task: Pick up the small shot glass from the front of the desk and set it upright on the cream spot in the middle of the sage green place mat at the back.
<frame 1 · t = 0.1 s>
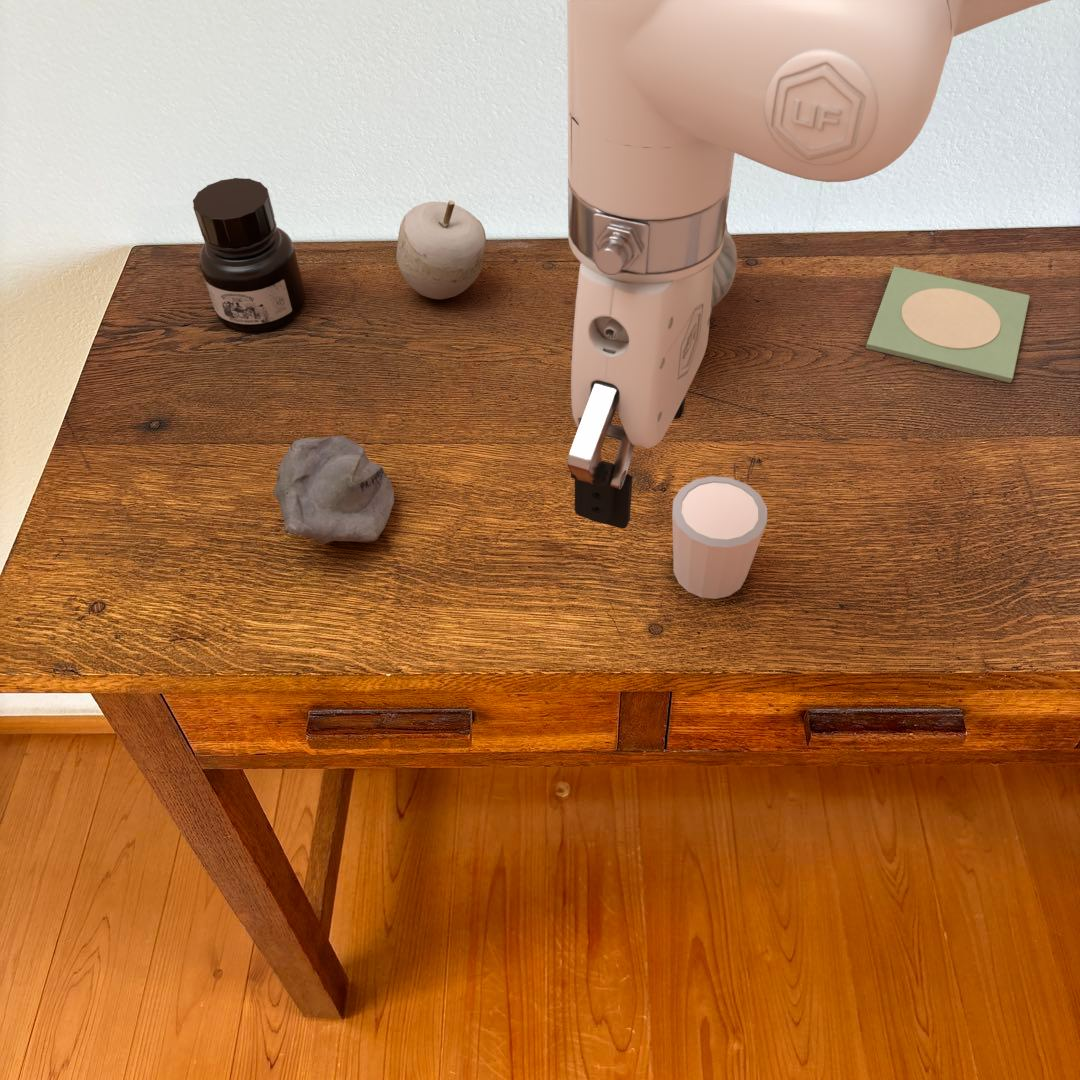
hand: (631, 462, 61), 18 cm above the table, tool pointing down, fingers open, 9 cm apart
mat: (948, 323, 96), on the table
shot glass: (709, 571, 78), on the table
ink bottle: (262, 307, 101), on the table
decorative object: (446, 292, 102), on the table
teapot: (653, 344, 96), on the table
fossil: (339, 527, 82), on the table
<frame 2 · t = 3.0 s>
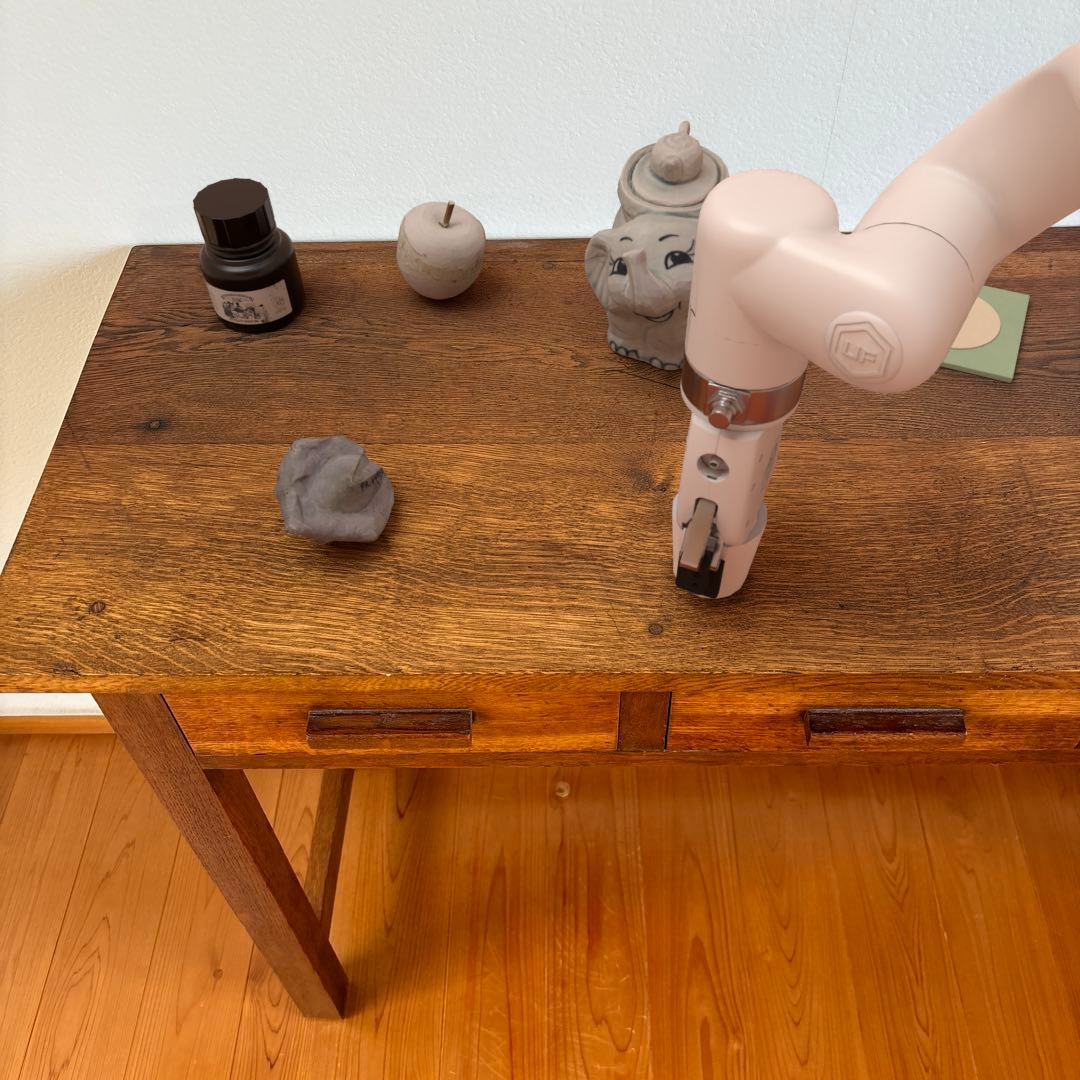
hand: (712, 551, 77), 2 cm above the table, tool pointing down, fingers closed on shot glass, 6 cm apart
shot glass: (709, 571, 78), on the table, touching gripper
everything else where it was.
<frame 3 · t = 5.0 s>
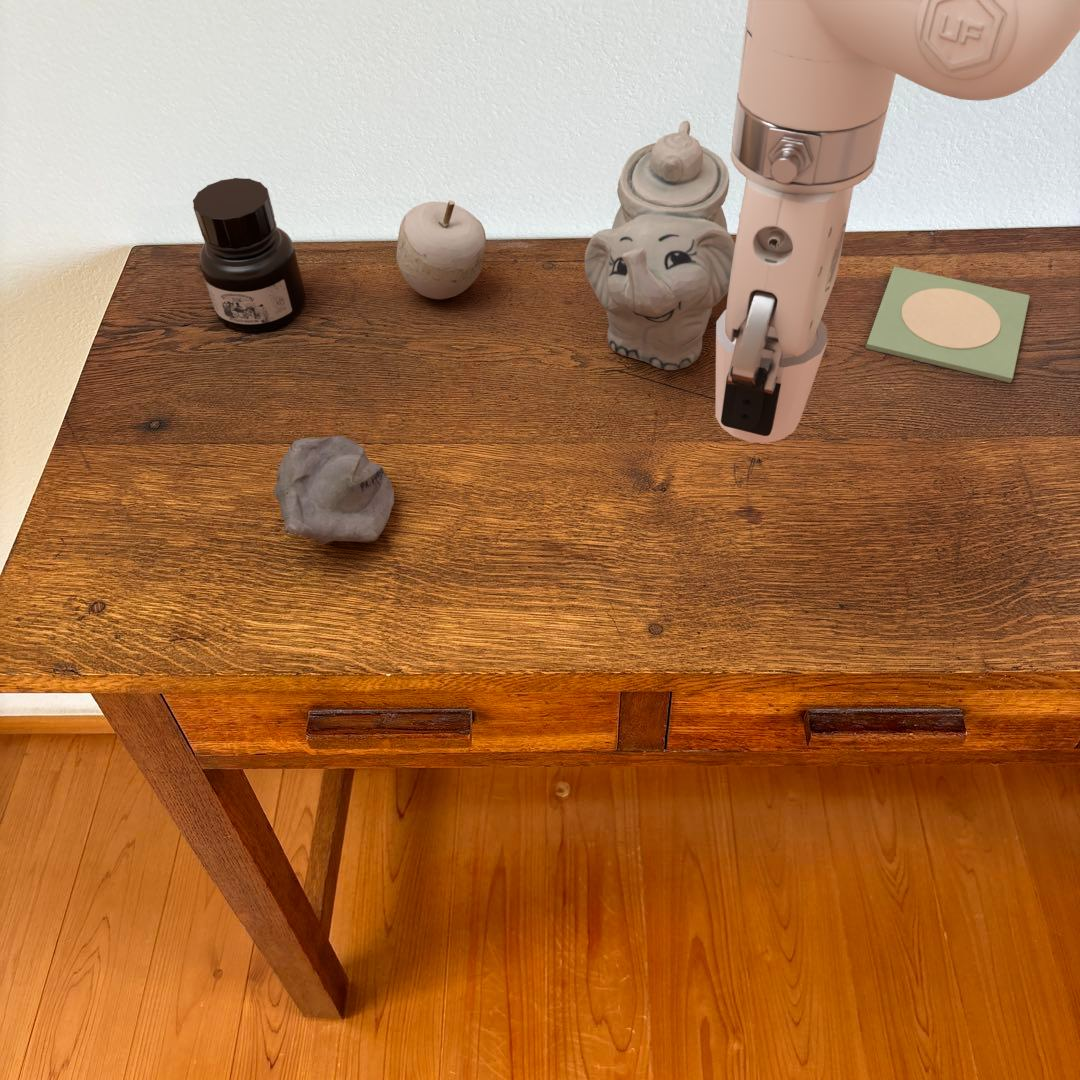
hand: (761, 388, 66), 17 cm above the table, tool pointing down, fingers closed on shot glass, 6 cm apart
shot glass: (756, 415, 68), point 15 cm above the table, touching gripper
everything else where it was.
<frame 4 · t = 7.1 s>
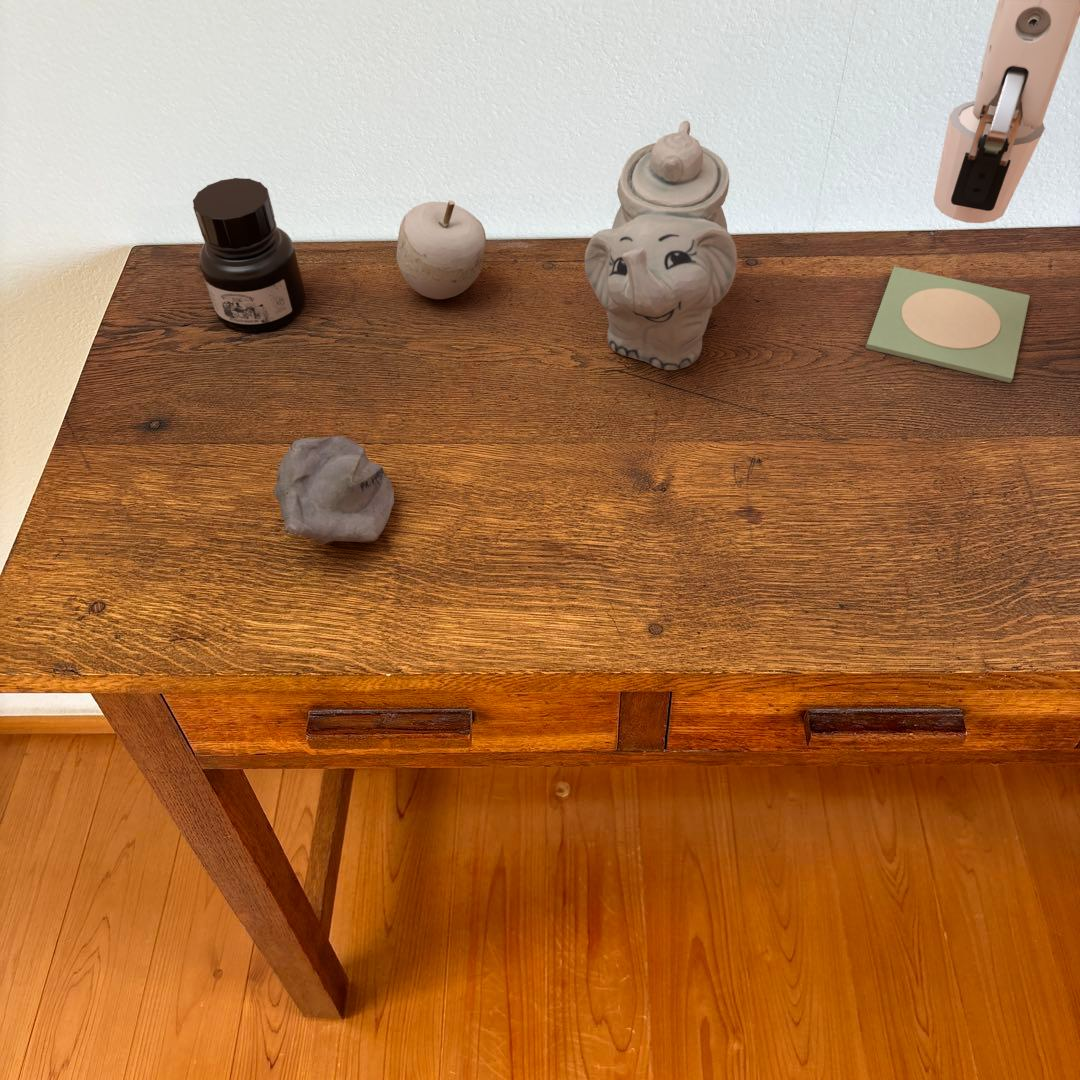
hand: (978, 179, 80), 18 cm above the table, tool pointing down, fingers closed on shot glass, 6 cm apart
shot glass: (968, 205, 82), point 15 cm above the table, touching gripper
everything else where it was.
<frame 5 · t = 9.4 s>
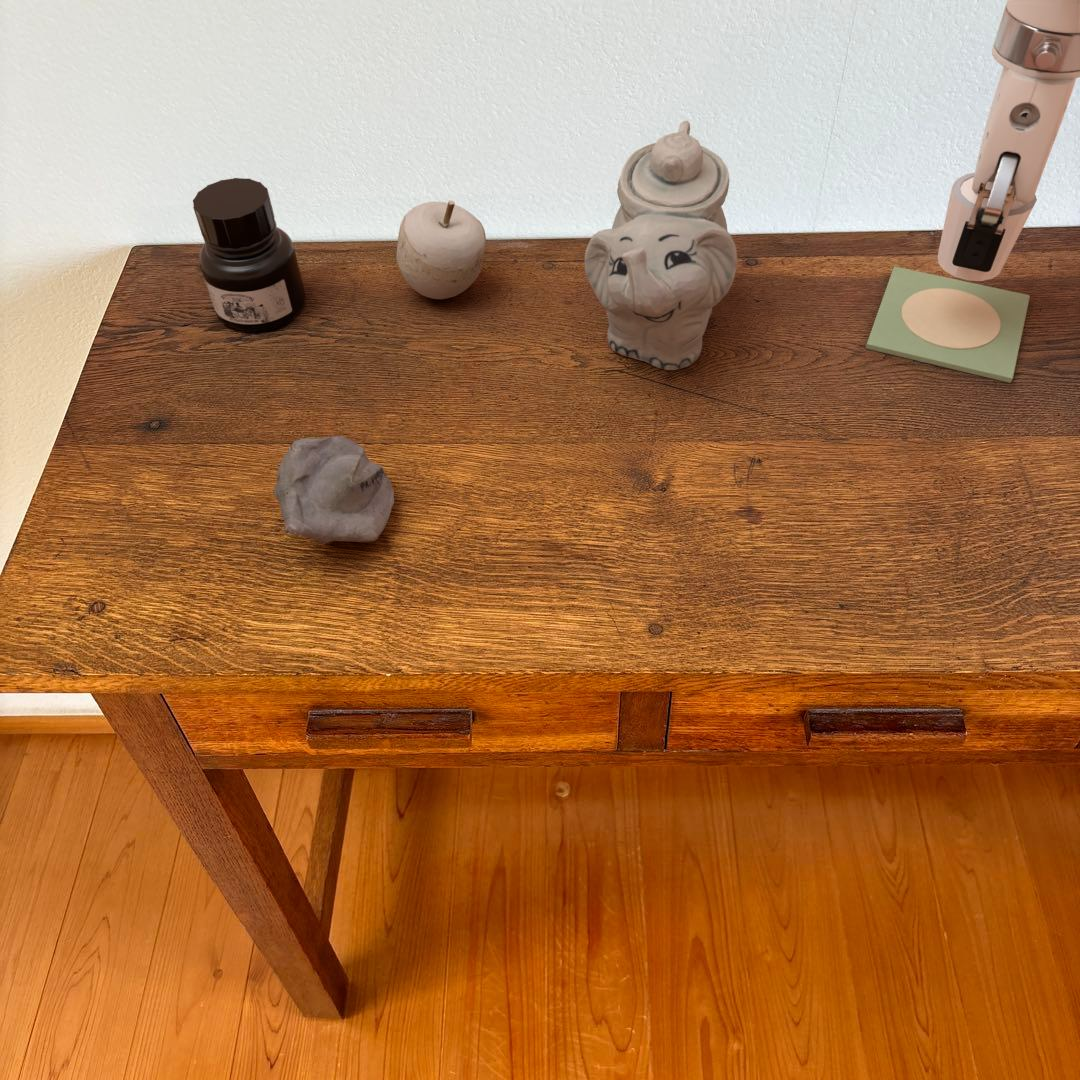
hand: (977, 241, 89), 9 cm above the table, tool pointing down, fingers closed on shot glass, 6 cm apart
shot glass: (969, 264, 91), point 7 cm above the table, touching gripper
everything else where it was.
when the fingers open (3 cm above the table, at t = 11.4 s): shot glass stays where it is, resting on mat.
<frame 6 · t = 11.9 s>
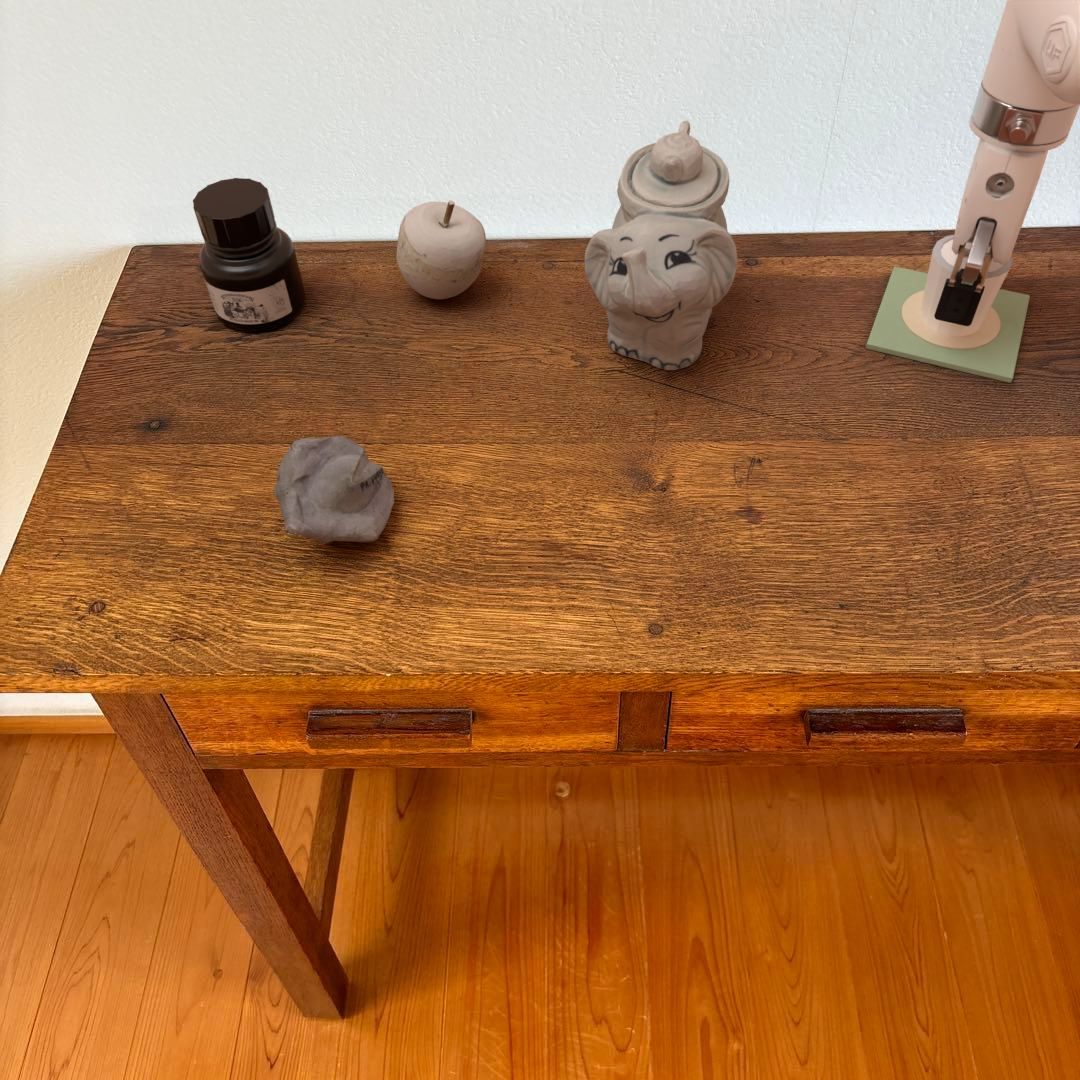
hand: (960, 290, 93), 4 cm above the table, tool pointing down, fingers open, 9 cm apart
shot glass: (950, 319, 96), point 1 cm above the table, touching mat
everything else where it was.
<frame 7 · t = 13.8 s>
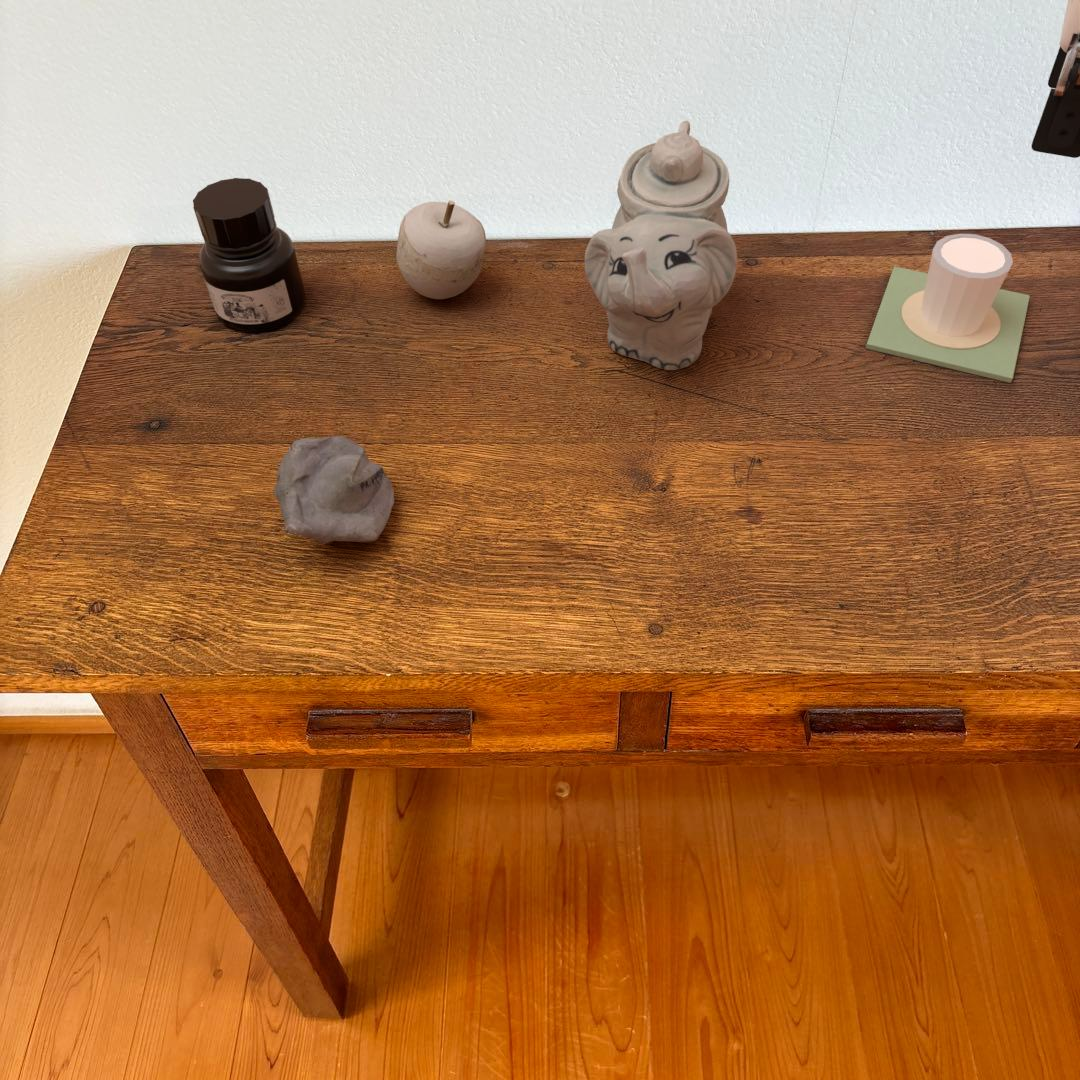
hand: (1062, 119, 71), 25 cm above the table, tool pointing down, fingers open, 9 cm apart
nothing on the table moved.
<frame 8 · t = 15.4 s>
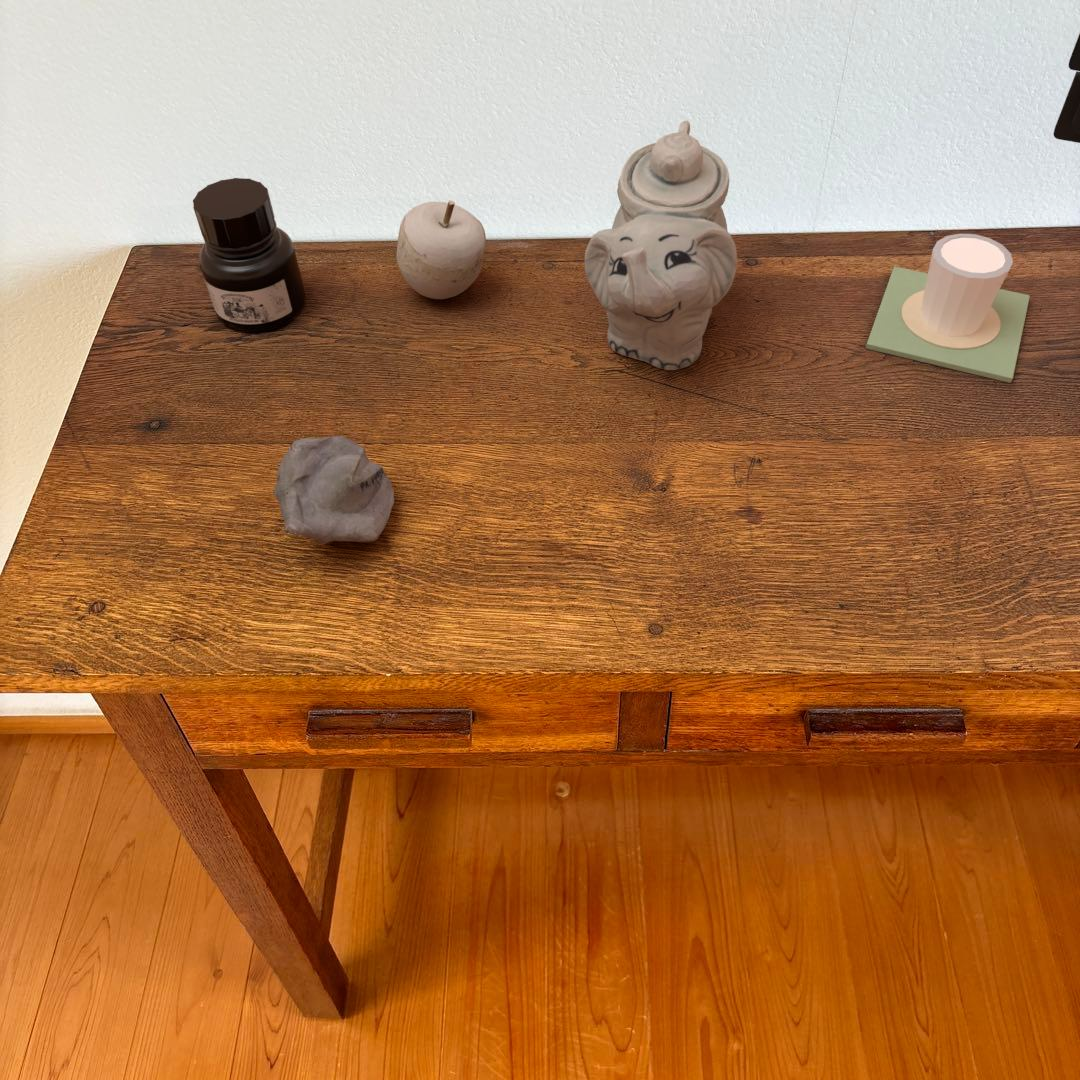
nothing on the table moved.
at the end: shot glass 0.1 cm off-centre on the mat, point 0.6 cm above the mat's base; shot glass tilted 0°; the gripper is holding nothing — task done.
